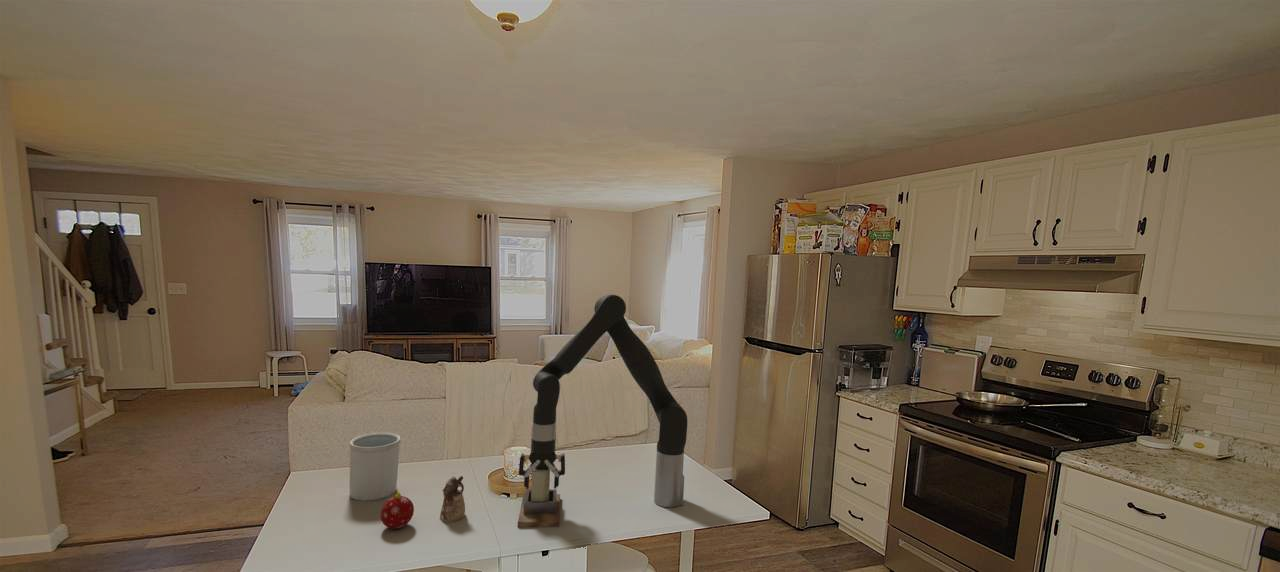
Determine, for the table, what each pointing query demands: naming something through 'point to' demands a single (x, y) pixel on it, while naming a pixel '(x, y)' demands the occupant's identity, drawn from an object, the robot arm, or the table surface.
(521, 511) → the keeper board
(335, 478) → the table surface
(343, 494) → the table surface
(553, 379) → the robot arm
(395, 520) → the christmas ornament
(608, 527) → the table surface
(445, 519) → the figurine
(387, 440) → the utensil holder
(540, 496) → the skincare box
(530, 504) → the collar
